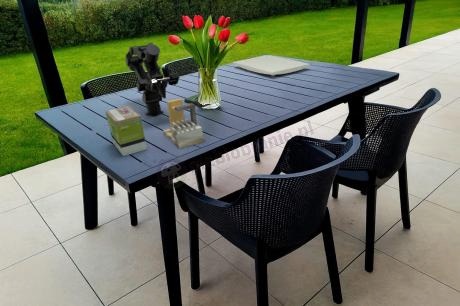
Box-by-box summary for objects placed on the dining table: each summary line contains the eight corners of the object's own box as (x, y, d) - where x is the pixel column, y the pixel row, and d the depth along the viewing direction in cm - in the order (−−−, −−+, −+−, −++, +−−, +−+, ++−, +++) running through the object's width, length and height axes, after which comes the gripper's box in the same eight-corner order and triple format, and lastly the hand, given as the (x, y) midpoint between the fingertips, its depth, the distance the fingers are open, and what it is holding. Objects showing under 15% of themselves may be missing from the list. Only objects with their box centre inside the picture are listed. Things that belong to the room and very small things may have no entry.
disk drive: (216, 103, 188) (199, 98, 198) (216, 98, 187) (198, 93, 197) (201, 109, 182) (184, 103, 192) (200, 103, 181) (183, 98, 191)
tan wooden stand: (163, 133, 154) (158, 102, 147) (186, 127, 158) (182, 96, 152) (179, 148, 139) (175, 114, 133) (205, 141, 144) (201, 107, 137)
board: (233, 68, 258) (232, 62, 256) (268, 61, 273) (268, 55, 270) (271, 80, 223) (271, 72, 221) (309, 70, 238) (310, 63, 236)
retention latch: (170, 129, 152) (165, 100, 146) (183, 126, 155) (179, 97, 149) (175, 134, 148) (170, 104, 142) (188, 130, 150) (184, 101, 145)
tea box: (112, 144, 147) (104, 110, 141) (135, 137, 152) (129, 104, 145) (122, 157, 135) (114, 120, 129) (147, 149, 140) (141, 114, 133)
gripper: (169, 75, 171) (181, 103, 167) (131, 82, 163) (142, 111, 159) (173, 61, 162) (185, 90, 158) (133, 68, 154) (145, 98, 150)
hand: (164, 98), depth 156 cm, fingers closed
